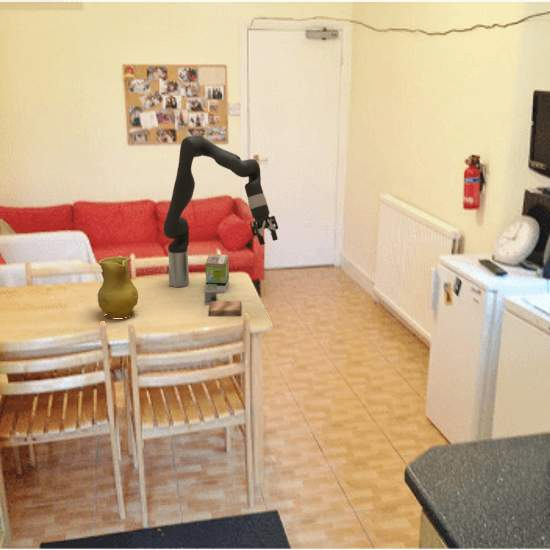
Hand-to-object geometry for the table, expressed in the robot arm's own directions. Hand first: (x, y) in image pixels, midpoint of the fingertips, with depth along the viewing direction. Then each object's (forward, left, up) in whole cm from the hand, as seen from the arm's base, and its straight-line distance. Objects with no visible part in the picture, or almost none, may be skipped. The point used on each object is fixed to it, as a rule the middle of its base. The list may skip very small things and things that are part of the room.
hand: (269, 242), depth 289 cm
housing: (-26, +12, -32) cm, 43 cm away
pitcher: (-65, -2, -32) cm, 73 cm away
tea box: (-24, +31, -32) cm, 51 cm away
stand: (-19, 0, -31) cm, 37 cm away
